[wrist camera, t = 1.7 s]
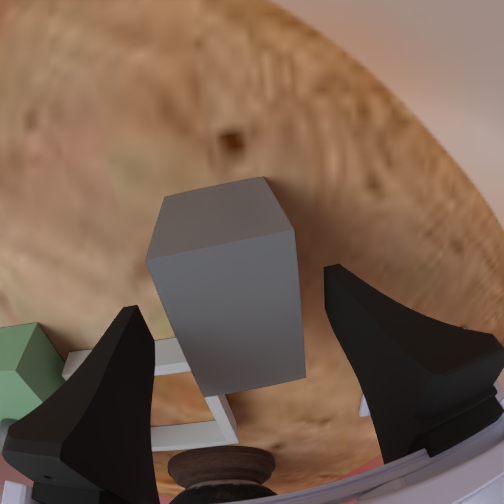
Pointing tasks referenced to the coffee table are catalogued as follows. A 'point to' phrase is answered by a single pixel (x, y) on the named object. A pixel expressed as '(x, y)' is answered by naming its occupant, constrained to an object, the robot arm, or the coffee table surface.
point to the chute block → (230, 285)
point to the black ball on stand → (221, 474)
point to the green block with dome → (57, 371)
